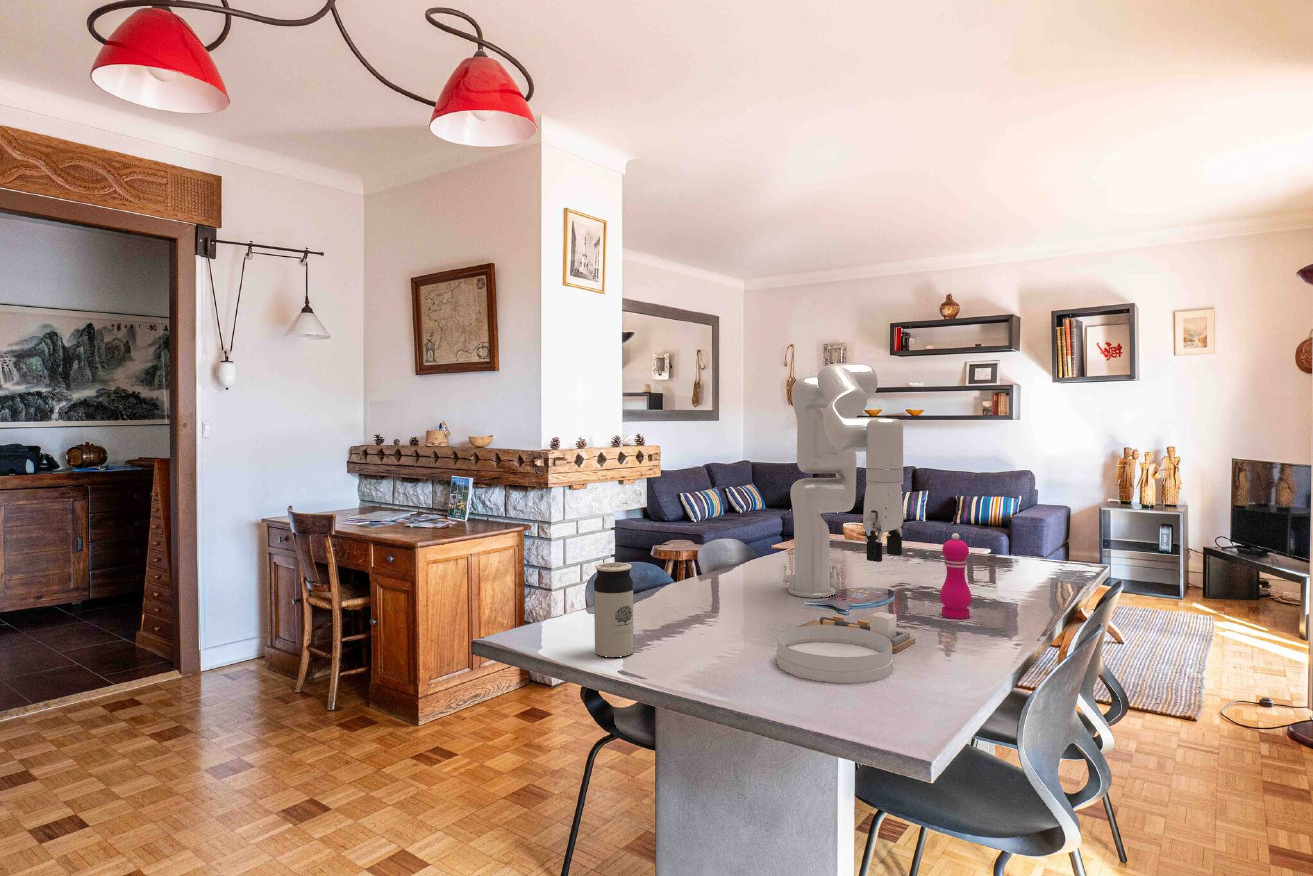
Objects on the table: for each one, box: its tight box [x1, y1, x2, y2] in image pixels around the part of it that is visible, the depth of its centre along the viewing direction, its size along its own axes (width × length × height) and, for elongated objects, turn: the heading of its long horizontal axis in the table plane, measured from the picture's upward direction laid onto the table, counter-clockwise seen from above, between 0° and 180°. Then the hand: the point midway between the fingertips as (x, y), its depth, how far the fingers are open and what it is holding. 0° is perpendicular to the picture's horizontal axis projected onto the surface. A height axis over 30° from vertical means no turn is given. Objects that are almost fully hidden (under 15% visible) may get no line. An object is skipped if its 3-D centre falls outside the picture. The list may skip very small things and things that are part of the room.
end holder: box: [888, 630, 911, 646], centre depth 162 cm, size 7×8×1 cm
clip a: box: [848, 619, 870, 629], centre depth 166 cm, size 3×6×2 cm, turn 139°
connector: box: [818, 611, 897, 639], centre depth 167 cm, size 17×4×5 cm, turn 49°
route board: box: [794, 619, 916, 654], centre depth 167 cm, size 24×10×1 cm, turn 49°
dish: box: [776, 625, 894, 684], centre depth 149 cm, size 22×22×5 cm
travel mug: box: [593, 562, 635, 657], centre depth 157 cm, size 8×8×18 cm
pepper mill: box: [939, 533, 973, 620], centre depth 185 cm, size 7×7×20 cm
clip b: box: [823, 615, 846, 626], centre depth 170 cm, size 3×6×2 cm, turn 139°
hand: (884, 557), depth 162 cm, fingers open, 9 cm apart
